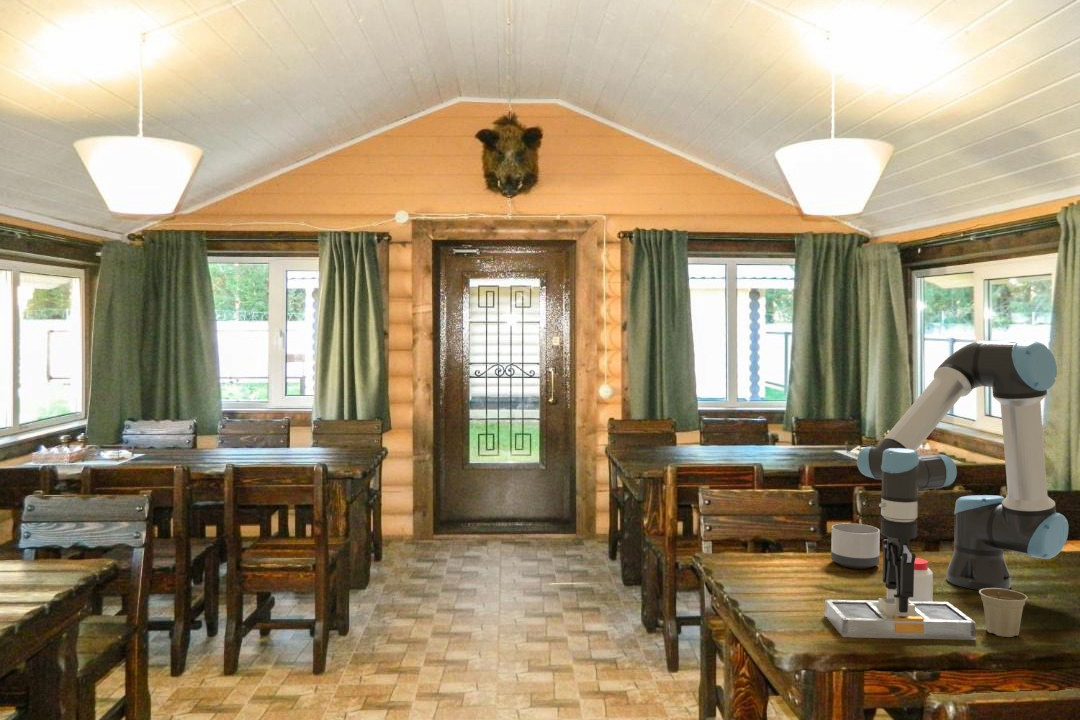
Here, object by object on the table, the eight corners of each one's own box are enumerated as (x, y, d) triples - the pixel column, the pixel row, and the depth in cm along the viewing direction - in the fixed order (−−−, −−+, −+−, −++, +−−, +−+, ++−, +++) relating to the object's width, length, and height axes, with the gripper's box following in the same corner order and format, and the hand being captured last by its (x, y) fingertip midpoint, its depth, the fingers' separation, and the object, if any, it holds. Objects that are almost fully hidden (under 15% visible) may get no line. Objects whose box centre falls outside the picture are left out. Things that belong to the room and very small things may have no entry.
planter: (822, 564, 242) (823, 528, 242) (844, 556, 251) (845, 521, 251) (865, 573, 233) (866, 536, 233) (887, 565, 242) (887, 528, 241)
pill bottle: (930, 612, 201) (930, 566, 200) (895, 607, 205) (895, 561, 204) (934, 604, 207) (935, 559, 207) (900, 598, 211) (901, 554, 211)
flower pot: (969, 625, 192) (970, 588, 191) (1008, 624, 192) (1009, 587, 192) (995, 641, 182) (995, 601, 182) (1036, 639, 183) (1037, 600, 183)
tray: (947, 618, 197) (947, 599, 197) (975, 640, 183) (976, 620, 182) (824, 615, 198) (825, 597, 198) (843, 637, 184) (843, 617, 184)
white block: (907, 620, 193) (907, 598, 192) (914, 627, 188) (915, 604, 188) (878, 619, 193) (878, 597, 193) (884, 626, 188) (885, 603, 188)
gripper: (868, 509, 199) (866, 608, 199) (896, 526, 181) (894, 635, 182) (901, 510, 198) (899, 609, 199) (932, 527, 181) (930, 636, 182)
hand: (897, 621), depth 190 cm, fingers closed on white block, 4 cm apart
